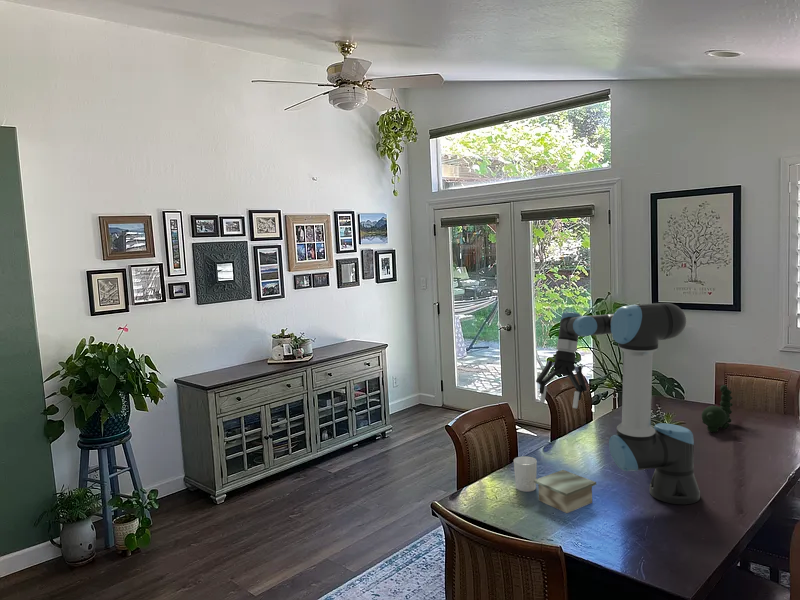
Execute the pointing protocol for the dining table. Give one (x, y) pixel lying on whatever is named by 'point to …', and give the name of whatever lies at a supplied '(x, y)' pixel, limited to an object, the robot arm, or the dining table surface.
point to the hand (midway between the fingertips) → (558, 405)
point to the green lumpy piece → (718, 412)
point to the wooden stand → (565, 490)
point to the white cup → (525, 473)
